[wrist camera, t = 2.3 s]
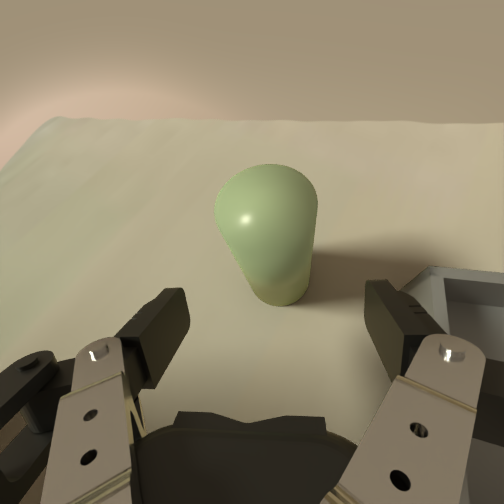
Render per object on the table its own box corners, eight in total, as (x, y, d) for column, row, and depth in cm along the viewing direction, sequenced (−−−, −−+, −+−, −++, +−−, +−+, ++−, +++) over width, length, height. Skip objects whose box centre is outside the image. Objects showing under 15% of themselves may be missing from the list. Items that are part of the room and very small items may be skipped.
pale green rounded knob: (245, 301, 22) (203, 245, 12) (255, 247, 24) (226, 163, 15) (306, 310, 21) (312, 256, 11) (311, 253, 23) (321, 165, 13)
